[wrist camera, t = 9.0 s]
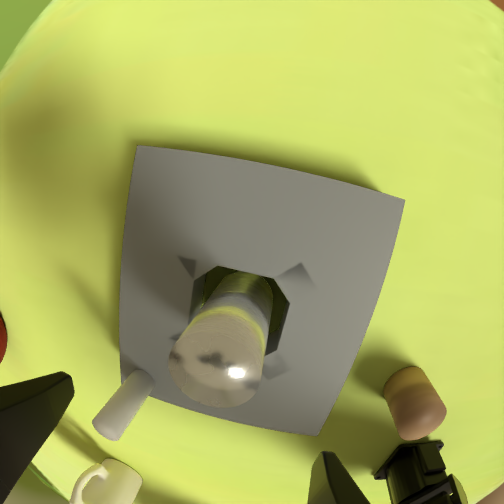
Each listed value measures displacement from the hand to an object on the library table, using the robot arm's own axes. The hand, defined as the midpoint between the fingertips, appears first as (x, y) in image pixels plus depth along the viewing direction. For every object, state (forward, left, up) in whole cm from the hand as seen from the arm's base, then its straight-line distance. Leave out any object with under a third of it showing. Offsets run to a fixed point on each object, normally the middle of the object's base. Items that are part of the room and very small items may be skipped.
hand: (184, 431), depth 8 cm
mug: (-30, +12, -13) cm, 35 cm away
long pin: (0, 0, -13) cm, 13 cm away
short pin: (-5, -15, -13) cm, 20 cm away
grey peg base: (0, 0, -13) cm, 13 cm away
